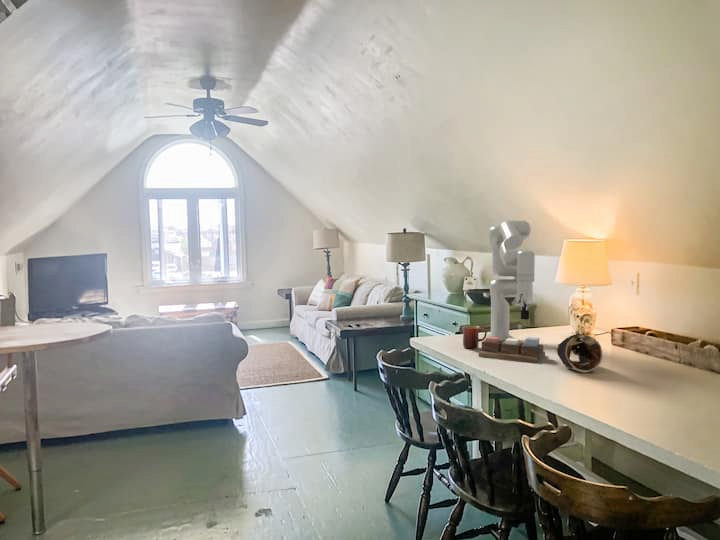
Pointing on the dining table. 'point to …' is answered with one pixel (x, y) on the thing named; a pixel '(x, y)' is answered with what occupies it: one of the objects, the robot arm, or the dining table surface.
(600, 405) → the dining table surface
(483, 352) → the keypad
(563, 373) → the dining table surface
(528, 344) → the slate key
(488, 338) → the brick key
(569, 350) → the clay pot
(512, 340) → the ivory key
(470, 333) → the mug
